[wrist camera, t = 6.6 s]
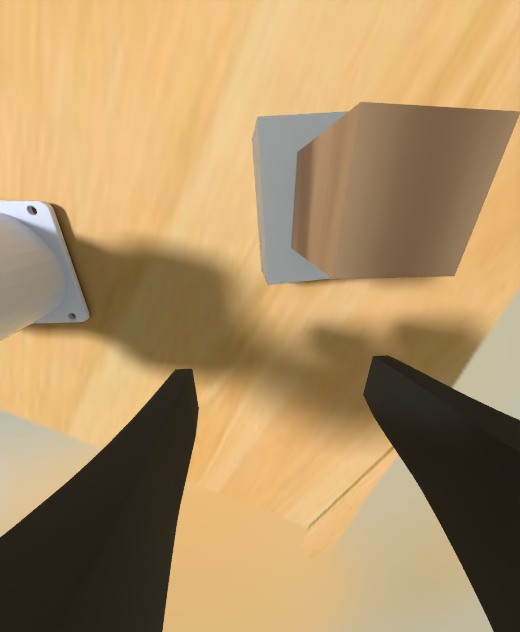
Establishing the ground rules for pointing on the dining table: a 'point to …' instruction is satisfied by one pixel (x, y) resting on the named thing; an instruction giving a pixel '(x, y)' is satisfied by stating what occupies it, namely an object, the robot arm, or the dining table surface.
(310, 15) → the dining table surface
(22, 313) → the robot arm
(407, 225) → the walnut block
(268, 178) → the grey base block
